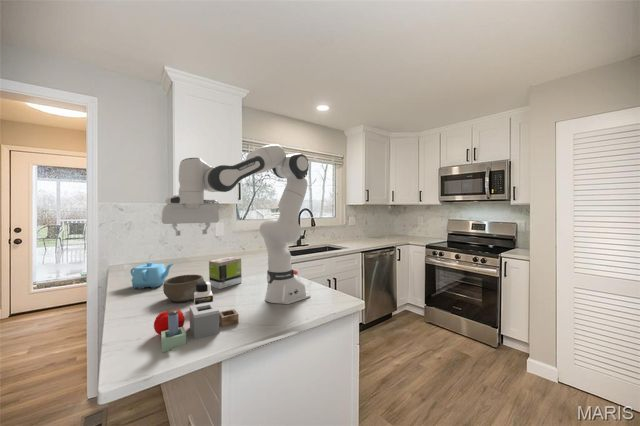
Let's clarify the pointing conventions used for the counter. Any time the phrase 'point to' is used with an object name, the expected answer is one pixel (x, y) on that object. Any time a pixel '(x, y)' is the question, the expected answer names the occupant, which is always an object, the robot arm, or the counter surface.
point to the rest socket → (172, 339)
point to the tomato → (162, 321)
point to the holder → (228, 318)
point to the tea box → (225, 272)
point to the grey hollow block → (204, 319)
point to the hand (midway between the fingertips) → (191, 234)
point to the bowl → (181, 287)
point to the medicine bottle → (203, 293)
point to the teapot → (149, 275)
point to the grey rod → (173, 323)
